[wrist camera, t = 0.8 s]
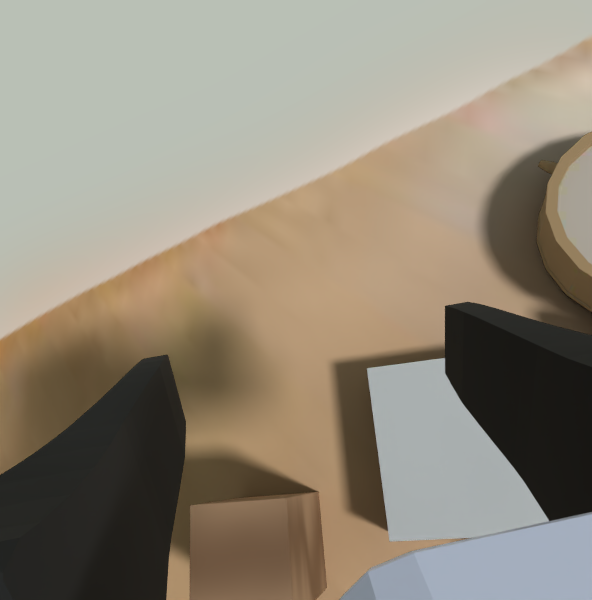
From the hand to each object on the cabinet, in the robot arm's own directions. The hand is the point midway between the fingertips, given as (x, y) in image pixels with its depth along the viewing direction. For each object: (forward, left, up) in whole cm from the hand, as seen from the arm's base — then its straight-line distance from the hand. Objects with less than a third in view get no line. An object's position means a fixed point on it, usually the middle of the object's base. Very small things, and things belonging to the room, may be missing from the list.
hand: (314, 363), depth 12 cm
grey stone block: (-2, -4, -15) cm, 16 cm away
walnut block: (-6, +6, -15) cm, 17 cm away
